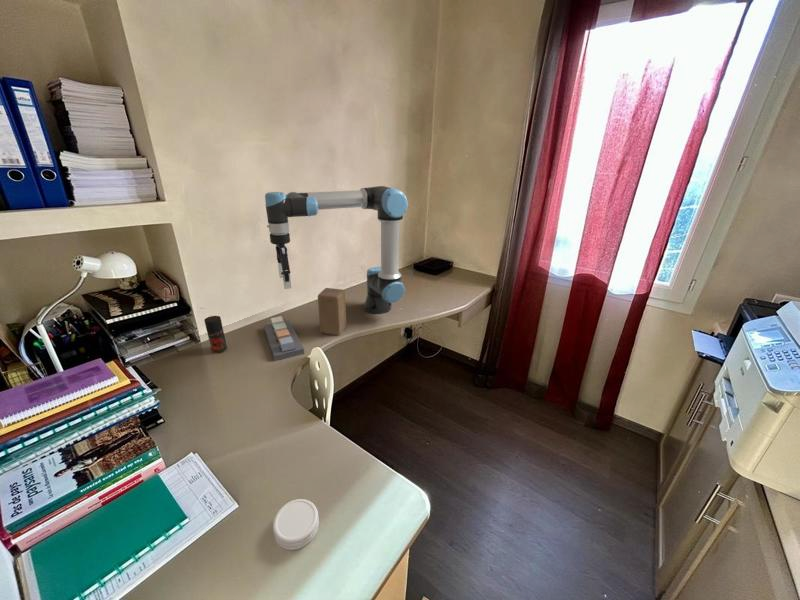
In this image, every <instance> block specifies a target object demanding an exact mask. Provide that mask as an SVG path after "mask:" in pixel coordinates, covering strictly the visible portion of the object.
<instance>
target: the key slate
mask: <svg viewBox="0 0 800 600" xmlns="http://www.w3.org/2000/svg"><path fill="white" fill-rule="evenodd" d="M279 342H280V347H281V352H286V351H290V350H294V341H293V339H292V337H291V336H290V337H286V338H281V339H279Z"/></svg>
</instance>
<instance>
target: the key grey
mask: <svg viewBox="0 0 800 600" xmlns="http://www.w3.org/2000/svg"><path fill="white" fill-rule="evenodd" d="M284 321H285V320H284V319H283V316H277V317H276V316H275V317H271V318H270V324H272V327H273V330H274V326H273V325H274V324H279V323H284Z"/></svg>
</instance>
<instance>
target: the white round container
mask: <svg viewBox="0 0 800 600" xmlns="http://www.w3.org/2000/svg"><path fill="white" fill-rule="evenodd" d="M319 526H320V519H319V510H318V509H317V507H316V505H315V504H314V503H313V502H312V501H310V500H308V499H304V498H297V499H294V500H290V501H289V502H287V503H284V505H282V506H281V507H280V509H278V511H277V513H276V515H275V516H274V519H273V523H272V532H273V537H274V540H275V542H276V543H277V545H278V546H279V547H280V548H282V549H283V550H286V551H296V550H299V549H302V548H304V547H306V546H307V545H308V544H310V543H311V542H312V541H313V539H314V538H315V536H316V535H317V533H318V530H319Z"/></svg>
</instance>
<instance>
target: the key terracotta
mask: <svg viewBox="0 0 800 600" xmlns="http://www.w3.org/2000/svg"><path fill="white" fill-rule="evenodd" d="M276 335H277V336H276V337H277V340H278V342H279V339H281V338H286V337H290V333H289V331H288V329H286V330H281V331H276ZM278 344H280V342H279V343H278Z"/></svg>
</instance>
